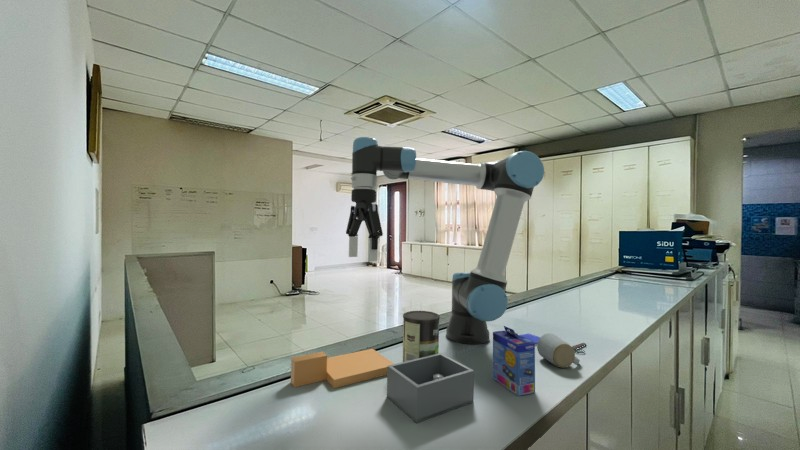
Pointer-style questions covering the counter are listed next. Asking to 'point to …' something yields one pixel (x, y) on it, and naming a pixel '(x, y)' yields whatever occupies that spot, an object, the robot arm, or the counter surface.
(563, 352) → the ceramic mug
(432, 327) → the coffee can
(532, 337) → the hard drive
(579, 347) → the keychain
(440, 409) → the parts tub
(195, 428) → the counter surface
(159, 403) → the counter surface
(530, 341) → the ink cartridge box
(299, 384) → the lid
